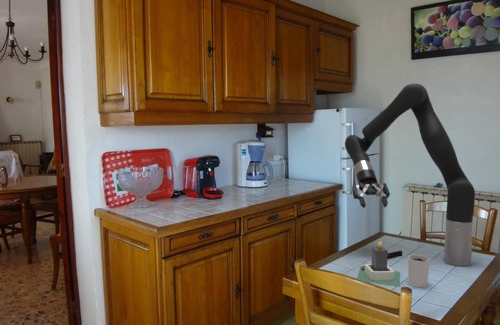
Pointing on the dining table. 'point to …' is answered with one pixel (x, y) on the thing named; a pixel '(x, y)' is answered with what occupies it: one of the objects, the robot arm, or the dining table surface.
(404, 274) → the dining table surface
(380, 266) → the plug
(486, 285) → the dining table surface
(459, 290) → the dining table surface
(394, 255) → the electric trimmer
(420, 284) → the grey cup
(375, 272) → the socket
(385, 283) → the circuit board
